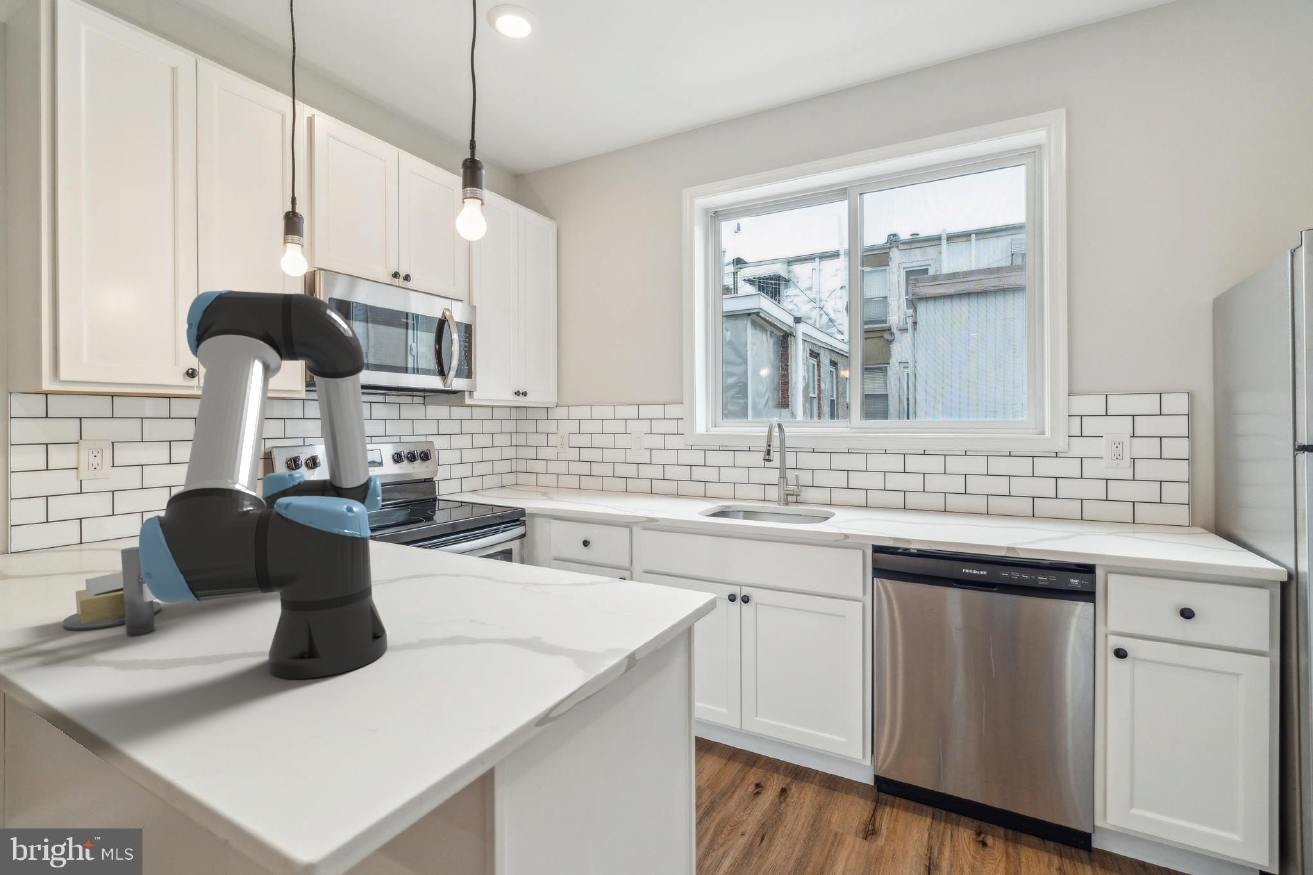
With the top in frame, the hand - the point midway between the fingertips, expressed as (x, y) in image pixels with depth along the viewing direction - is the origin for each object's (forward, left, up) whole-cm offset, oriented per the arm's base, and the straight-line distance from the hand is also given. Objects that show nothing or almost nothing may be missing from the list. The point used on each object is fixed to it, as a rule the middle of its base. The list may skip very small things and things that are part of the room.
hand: (115, 590), depth 98 cm
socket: (+15, -1, -8) cm, 17 cm away
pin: (+1, -3, -8) cm, 9 cm away
